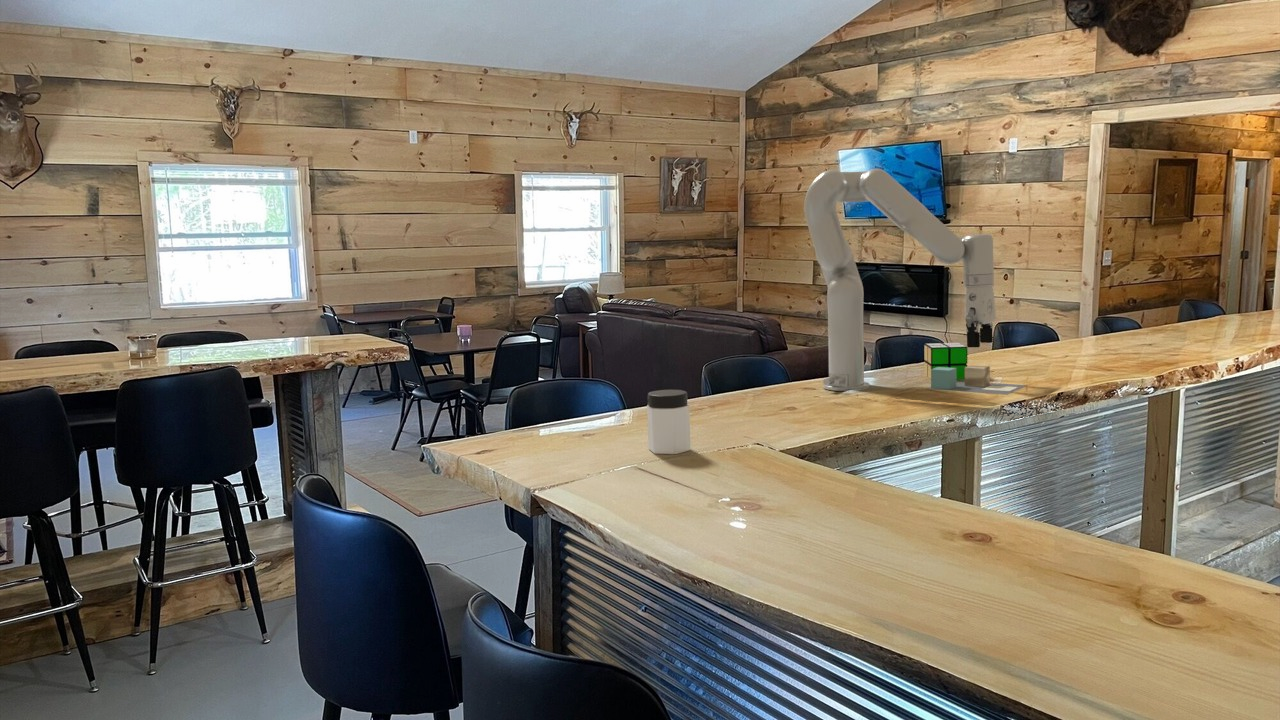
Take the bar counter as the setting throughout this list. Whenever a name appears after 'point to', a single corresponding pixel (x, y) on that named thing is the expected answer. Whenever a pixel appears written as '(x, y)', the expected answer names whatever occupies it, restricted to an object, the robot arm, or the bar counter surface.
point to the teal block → (943, 378)
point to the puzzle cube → (945, 358)
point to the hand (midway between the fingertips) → (980, 344)
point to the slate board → (985, 388)
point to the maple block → (977, 375)
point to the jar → (668, 422)
